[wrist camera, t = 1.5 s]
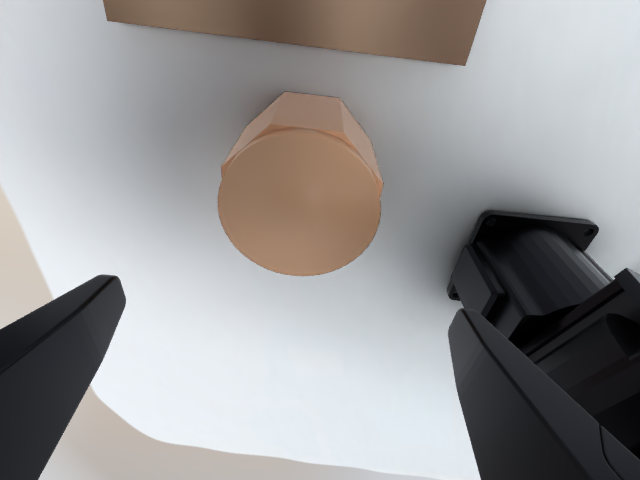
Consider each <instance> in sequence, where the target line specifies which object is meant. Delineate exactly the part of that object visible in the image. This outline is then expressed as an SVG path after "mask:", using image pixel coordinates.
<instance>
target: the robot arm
mask: <svg viewBox="0 0 640 480" xmlns="http://www.w3.org/2000/svg"><path fill="white" fill-rule="evenodd" d="M491 218H493V220H492V221H490V222H487V221H488V220H489V219H491ZM587 229H588V230H587ZM586 230H587V231H586ZM598 231H599V227H598V226H597V225H596V224H594V223H593V222H592V221H587V220H577V219H568V218H558V217H549V216H539V215H530V214H520V213H511V212H501V211H487V212H484V213H483V214H482V215H481V216H480V218H479V220H478V222H477V225H476V227H475V229H474V231H473V234H472V236H471V238H470V240H469V242H468V244H467V245H466V246H465V247H464V249H463V251H462V253H461V255H460V258H459V260H458V262H457V264H456V267H455V269H454V271H453V273H452V276H451V279H452V280H451V282H450V284H449V287H448V289H447V293H448V296H449V298H450V299H452V300H458V301H461V302H462V304H463V307H464V308H461V309H459V310H458V311H457V313H456V315H455V317H454V319H453V321H452V323H451V325H450V327H449V330H448V338H449V344H450V350H451V357H452V363H453V369H454V376H455V382H456V387H457V392H458V396H459V400H460V404H461V407H462V411H463V415H464V419H465V422H466V426H467V430H468V433H469V437H470V441H471V444H472V448H473V452H474V455H475V459H476V463H477V466H478V470H479V474H480V477H481V480H640V274H638V273H636V272H634V271H632V270H630V269H629V268H625V269H624V270H623V271H621V272H620V273H618V274H617V275H616V276H614V277H615V279H614V280H613V279H612V278H611V277H610V276H609V275H608V274H607V273H606V272H605V271H604V270H603V269H602V268H601V267H600V266H599V265H598V264H597V263H596V262H595V261H594V260H593V259H592V258H591V257H590V256H589V255H588V254H587V253H586V252H585V250H586V249H587V247H588V246H589V244H590V243H591V242H592V240H593V239H594V237H595V236H596V235H597V233H598ZM455 292H456V293H455ZM125 304H126V298H125V294H124V291H123V288H122V285H121V282H120V279H119V278H118V277H117V276H114V275H98V276H96V277H94V278H93V279H91V280H89V281H87V282H85V283H84V284H82V285H80V286H78V287H76V288H74V289H73V290H71V291H69V292H67V293H65V294H64V295H62V296H60V297H58V298H56V299H55V300H53V301H51V302H49V303H47V304H46V305H44V306H42V307H40V308H38V309H36V310H35V311H33V312H31V313H30V314H28V315H26V316H24V317H22V318H20V319H18V320H17V321H15V322H13V323H11V324H9V325H8V326H6V327H4V328H2V329H0V480H38V479H39V477H40V475H41V473H42V471H43V469H44V468H45V466H46V464H47V462H48V460H49V458H50V457H51V455H52V453H53V451H54V449H55V447H56V446H57V444H58V442H59V440H60V438H61V436H62V435H63V433H64V431H65V429H66V427H67V425H68V423H69V422H70V420H71V418H72V416H73V414H74V413H75V411H76V409H77V407H78V405H79V403H80V402H81V400H82V398H83V396H84V394H85V392H86V390H87V389H88V387H89V385H90V383H91V381H92V379H93V378H94V376H95V374H96V372H97V370H98V368H99V366H100V364H101V363H102V361H103V358H104V356H105V354H106V352H107V349H108V347H109V344H110V342H111V340H112V337H113V335H114V332H115V330H116V327H117V325H118V322H119V320H120V318H121V315H122V313H123V310H124V308H125Z"/></svg>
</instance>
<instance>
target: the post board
mask: <svg viewBox="0 0 640 480" xmlns="http://www.w3.org/2000/svg"><path fill="white" fill-rule="evenodd" d="M103 2H104V7H105V12H106V16H107V21H113V22H121V23H129V24H137V25H144V26H152V27H160V28H168V29H176V30H184V31H192V32H200V33H208V34H216V35H224V36H232V37H240V38H248V39H256V40H264V41H271V42H279V43H287V44H295V45H303V46H311V47H319V48H327V49H335V50H343V51H351V52H359V53H367V54H375V55H383V56H391V57H398V58H406V59H414V60H422V61H430V62H438V63H446V64H454V65H462V66H465V65H466V62H467V59H468V56H469V53H470V50H471V46H472V43H473V40H474V37H475V34H476V31H477V28H478V25H479V22H480V19H481V15H482V12H483V9H484V6H485V3H486V0H103Z"/></svg>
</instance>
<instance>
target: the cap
mask: <svg viewBox="0 0 640 480" xmlns="http://www.w3.org/2000/svg"><path fill="white" fill-rule="evenodd" d="M221 171H222V181H221V184H220V188H219V193H218V212H219V217H220V221H221V224H222V226H223V229H224V231H225V233H226V235H227V236H228V238H229V239H230V241H231V242H232V243H233V245H234V246H235V247H236V248H237V249H238V250H239V251H240V252H241V253H242V254H243V255H244V256H246V257H247V258H248V259H250V260H251V261H253V262H254V263H256V264H258V265H260V266H262V267H264V268H266V269H268V270H271V271H274V272H277V273H282V274H286V275H293V276H313V275H320V274H324V273H328V272H332V271H334V270H337V269H339V268H341V267H343V266H345V265H347V264H349V263H350V262H352V261H353V260H355V259H356V258H357V257H358V256H359V255H361V254H362V253H363V251H364V250H365V249H366V248H367V247H368V245H369V244H370V243H371V241H372V240H373V238H374V236H375V234H376V231H377V228H378V225H379V221H380V215H381V204H380V196H381V192H382V188H383V181H382V177H381V174H380V171H379V167H378V164H377V160H376V157H375V154H374V150H373V147H372V143H371V140H370V139H369V137H368V136H367V135H366V133H365V132H364V131H363V129H362V128H361V127H360V125H359V124H358V122H357V121H356V120H355V118H354V117H353V116H352V114H351V113H350V111H349V110H348V109H347V107H346V106H345V105H344V103H343V102H342V100H341V99H340V98H335V97H327V96H318V95H310V94H302V93H293V92H284V93H283V94H282V95H280V96H279V97H278V98H277V99H276V100H275V101H274V102H273V103H272V104H270V105H269V106H268V107H267V108H266V109H265V110H264V111H263V112H261V113H260V114H259V115H258V116H257V117H256V118H255V119H254V120H253V121H251V122H250V123H249V124H248V125H247V126H246V127H245V129H244V131H243V132H242V134H241V135H240V137H239V139H238V140H237V142H236V143H235V145H234V147H233V148H232V150H231V151H230V153H229V155H228V156H227V158H226V160H225V161H224V163H223V164H222V166H221Z"/></svg>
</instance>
